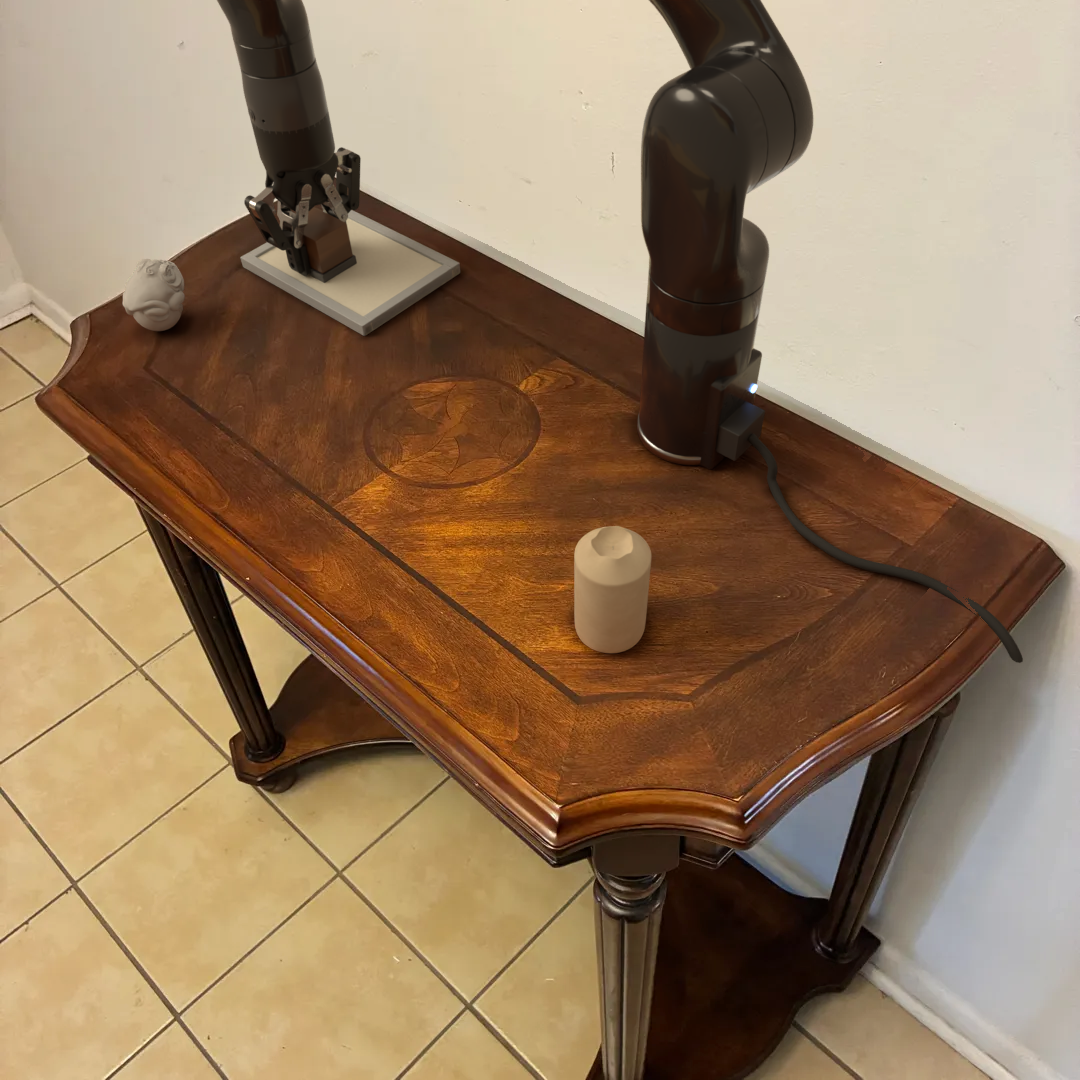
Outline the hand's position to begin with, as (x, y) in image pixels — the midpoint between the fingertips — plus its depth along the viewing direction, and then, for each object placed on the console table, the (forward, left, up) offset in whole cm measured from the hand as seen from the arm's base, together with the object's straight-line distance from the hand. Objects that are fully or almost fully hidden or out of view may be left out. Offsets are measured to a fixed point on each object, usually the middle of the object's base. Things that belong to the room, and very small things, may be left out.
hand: (321, 260), depth 109 cm
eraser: (0, 0, 0) cm, 0 cm away
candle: (-54, +18, -2) cm, 57 cm away
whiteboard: (-2, -2, -1) cm, 3 cm away
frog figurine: (+6, +17, -2) cm, 18 cm away
